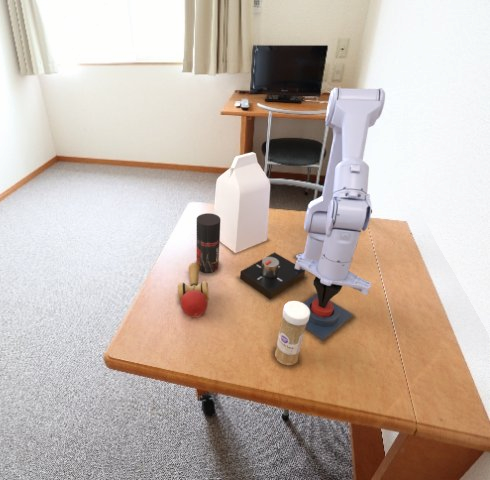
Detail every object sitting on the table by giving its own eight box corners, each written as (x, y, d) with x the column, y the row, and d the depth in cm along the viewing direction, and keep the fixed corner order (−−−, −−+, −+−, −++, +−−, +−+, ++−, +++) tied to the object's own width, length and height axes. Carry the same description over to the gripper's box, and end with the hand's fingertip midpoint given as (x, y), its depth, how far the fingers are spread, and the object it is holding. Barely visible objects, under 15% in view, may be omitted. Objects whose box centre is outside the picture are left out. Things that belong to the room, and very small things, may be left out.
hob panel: (273, 259, 96) (274, 251, 95) (304, 277, 90) (305, 269, 88) (239, 278, 90) (240, 270, 89) (269, 299, 84) (271, 291, 82)
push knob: (318, 300, 80) (320, 295, 79) (336, 311, 77) (337, 306, 76) (306, 308, 78) (308, 303, 77) (324, 320, 75) (325, 315, 74)
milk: (235, 253, 100) (241, 167, 85) (211, 234, 108) (213, 153, 94) (267, 240, 104) (278, 156, 90) (242, 223, 113) (248, 144, 98)
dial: (268, 265, 90) (269, 253, 88) (280, 273, 87) (282, 261, 85) (257, 272, 88) (259, 259, 86) (269, 280, 86) (271, 267, 83)
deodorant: (217, 274, 92) (219, 226, 84) (195, 272, 93) (194, 224, 85) (219, 261, 97) (221, 214, 88) (198, 259, 98) (198, 212, 90)
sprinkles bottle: (270, 358, 70) (279, 310, 62) (280, 344, 73) (290, 296, 65) (292, 370, 67) (304, 322, 60) (302, 355, 70) (314, 307, 63)
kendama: (176, 276, 94) (173, 319, 78) (180, 256, 91) (178, 296, 75) (205, 280, 94) (208, 324, 78) (209, 260, 91) (213, 301, 75)
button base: (317, 295, 84) (319, 287, 83) (352, 317, 78) (355, 309, 77) (287, 316, 79) (289, 308, 78) (322, 341, 73) (325, 333, 71)
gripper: (293, 251, 70) (283, 300, 78) (371, 278, 62) (352, 331, 70) (306, 235, 75) (296, 283, 82) (381, 259, 67) (362, 310, 74)
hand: (323, 304), depth 76 cm, fingers closed
